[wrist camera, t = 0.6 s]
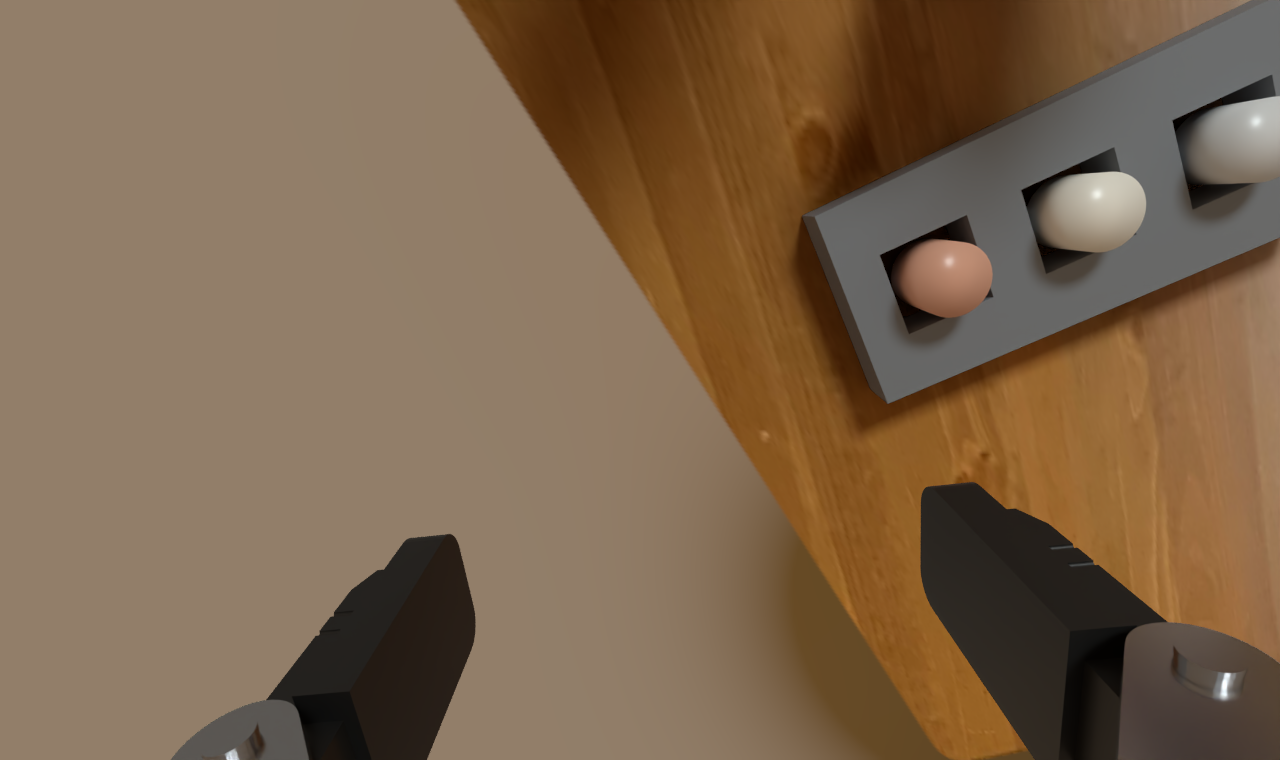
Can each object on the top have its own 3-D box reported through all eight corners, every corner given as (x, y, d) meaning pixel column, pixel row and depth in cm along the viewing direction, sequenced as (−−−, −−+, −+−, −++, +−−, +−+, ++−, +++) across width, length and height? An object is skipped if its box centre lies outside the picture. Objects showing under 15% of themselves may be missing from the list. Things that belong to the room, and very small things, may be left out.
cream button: (1087, 162, 34) (1135, 157, 30) (1105, 228, 35) (1154, 231, 31) (1016, 194, 34) (1056, 193, 31) (1036, 259, 35) (1076, 265, 32)
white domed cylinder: (1236, 93, 33) (1303, 80, 29) (1251, 164, 34) (1317, 160, 30) (1161, 128, 33) (1218, 120, 30) (1177, 197, 34) (1234, 196, 31)
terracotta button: (947, 226, 35) (979, 228, 31) (969, 289, 36) (1001, 298, 32) (881, 257, 35) (905, 262, 32) (903, 318, 36) (929, 329, 33)
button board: (1254, -1, 33) (1312, -21, 30) (1292, 207, 36) (1349, 208, 33) (801, 215, 36) (814, 216, 33) (870, 389, 39) (887, 403, 36)
